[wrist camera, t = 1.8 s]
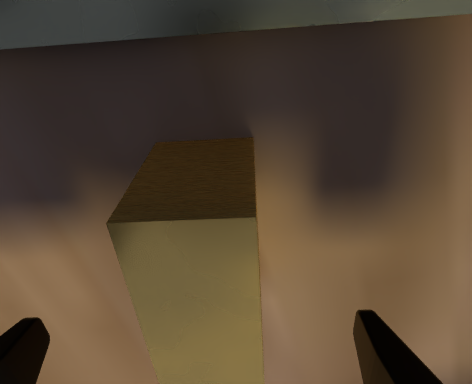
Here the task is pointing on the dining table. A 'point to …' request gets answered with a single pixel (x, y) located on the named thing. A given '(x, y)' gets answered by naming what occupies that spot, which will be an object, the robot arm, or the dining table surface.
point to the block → (195, 260)
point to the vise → (191, 17)
